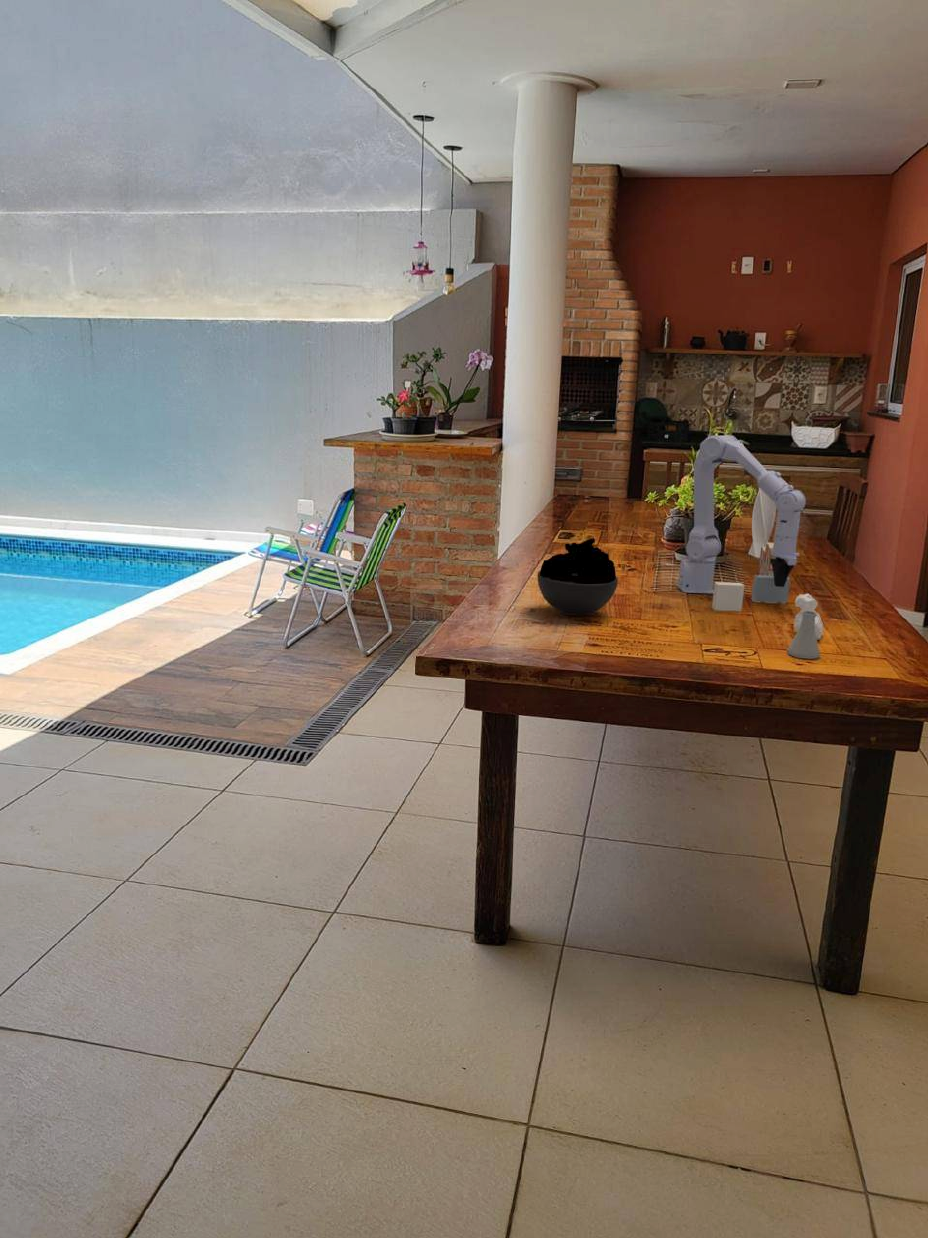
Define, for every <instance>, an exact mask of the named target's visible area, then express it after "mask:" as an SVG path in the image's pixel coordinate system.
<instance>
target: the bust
mask: <svg viewBox="0 0 928 1238" xmlns="http://www.w3.org/2000/svg"><path fill="white" fill-rule="evenodd" d="M794 605H795V607H797V608H801V610H800V611H799V612H798V613H797V614H796V615H795V617H794V618H795V619H794V621H793V622H794V623H793V626H794V629H795V631H796V632H797V631H798V629H799V628H800V625H801V622H802V618H803V614H802V611H813V612H816V613H817V616H816V617H815V634H816V639H817V641H818V640H820V639H822V636H823V633H824V631H825V629H824V624H823V621H822V618H821V616H820V614H819V613H818V612H817V611H816V608H817V607H818V606H819V604H818V601H817V600H816V599H815V598H814V597H813V596H812V595H811V594H809V593H805V594H801V593H800V594H799V595H797V596H796V599H795V601H794Z"/></svg>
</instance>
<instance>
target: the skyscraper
mask: <svg viewBox="0 0 928 1238" xmlns="http://www.w3.org/2000/svg"><path fill="white" fill-rule="evenodd" d="M776 512H777V509H776V507H775V502H774V501H772V500H771V499H770V498H769V497H768V496H767V495H766V494H765V493H764V492H763V491H762V490H761V489H760V488H759V487H758V492H757V495H756V497H755V500H754V505H753V509H752V516H751V517H752V518H751V532H752V533H751V534H752V543H751V546H750V549H749V550H748V553H747V555H748V554H749V555H748V556H750V555H751V556H750V557H752V556H753V558H755V557H756V559H758V560H760V553H761V547H766V542H769V539H770V536H771V535H772V532H773V528H774V524H775V520H776ZM775 530H776V527H775ZM774 538H775V534H773V536H772V543H774Z"/></svg>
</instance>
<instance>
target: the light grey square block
mask: <svg viewBox="0 0 928 1238" xmlns="http://www.w3.org/2000/svg"><path fill="white" fill-rule="evenodd" d="M713 590H714V594H713V596H712V602H711V604H712V606H711V609H713V610H714V611H719V612H721V611H722V612H729V611H730V612H742V608H743V600H744V594H745V593H744V592H745V584H743V583H741V582H723V581H722V582H721V581H715V582H714V587H713Z"/></svg>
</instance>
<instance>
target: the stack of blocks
mask: <svg viewBox="0 0 928 1238" xmlns="http://www.w3.org/2000/svg"><path fill="white" fill-rule="evenodd" d="M773 545H774V543H773V542H769V541H768V542H766V547H761V553H760V559H759V564H758V566H759V567H758V574H757V575H765V576H774V574H773V568H772V565H771V562H770V559H775V558H776V556H773V555H771V547H772V548H773ZM790 575H791V572H790V573H789V575H788V578H790Z"/></svg>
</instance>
